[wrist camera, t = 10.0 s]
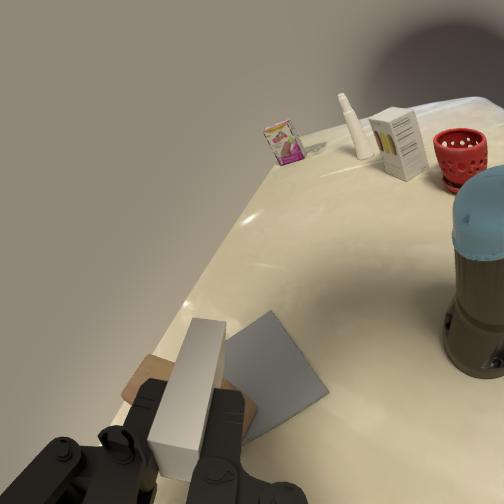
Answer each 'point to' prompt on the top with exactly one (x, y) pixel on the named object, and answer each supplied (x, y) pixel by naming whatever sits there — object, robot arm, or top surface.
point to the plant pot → (460, 156)
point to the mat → (270, 374)
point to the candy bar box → (285, 142)
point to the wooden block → (162, 371)
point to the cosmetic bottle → (355, 130)
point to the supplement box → (399, 142)
